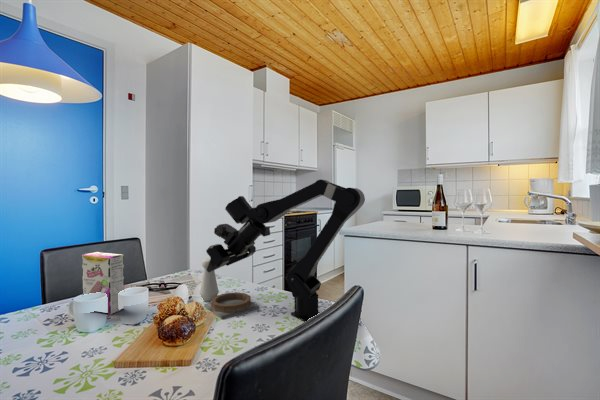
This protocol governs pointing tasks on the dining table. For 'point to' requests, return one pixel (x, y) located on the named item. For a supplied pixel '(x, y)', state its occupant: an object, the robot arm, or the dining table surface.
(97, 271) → the candy bar box
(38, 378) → the dining table surface
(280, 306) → the dining table surface
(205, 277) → the salt shaker
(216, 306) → the stand
